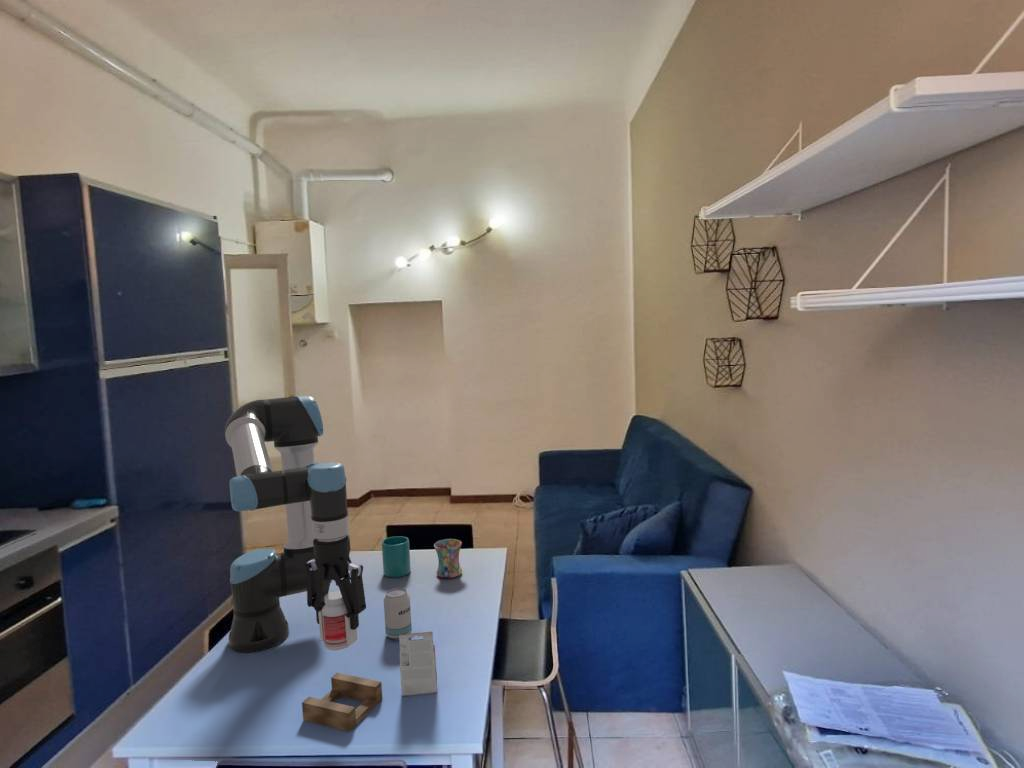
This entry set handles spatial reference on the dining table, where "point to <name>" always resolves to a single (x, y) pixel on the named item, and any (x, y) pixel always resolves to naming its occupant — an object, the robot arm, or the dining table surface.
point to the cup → (396, 556)
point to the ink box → (417, 664)
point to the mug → (448, 558)
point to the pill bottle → (334, 621)
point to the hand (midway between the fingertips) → (338, 640)
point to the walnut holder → (338, 713)
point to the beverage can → (397, 613)
